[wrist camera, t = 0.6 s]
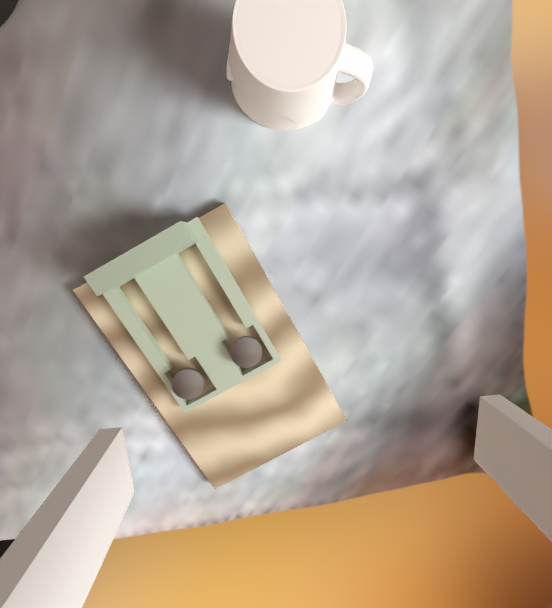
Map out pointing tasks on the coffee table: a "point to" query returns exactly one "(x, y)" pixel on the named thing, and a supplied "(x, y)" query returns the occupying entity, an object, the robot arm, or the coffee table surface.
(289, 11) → the mug
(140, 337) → the panel
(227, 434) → the board
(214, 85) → the coffee table surface
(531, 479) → the robot arm
